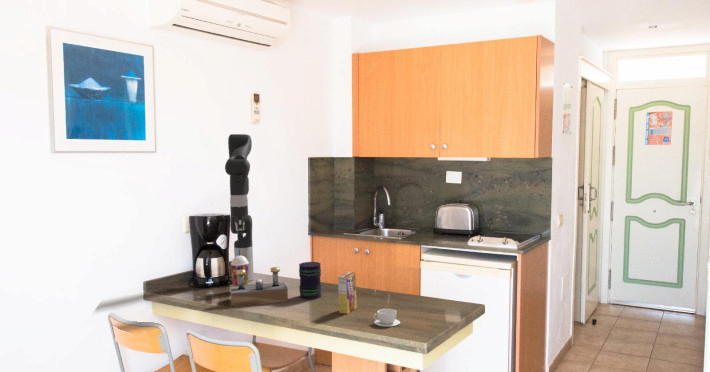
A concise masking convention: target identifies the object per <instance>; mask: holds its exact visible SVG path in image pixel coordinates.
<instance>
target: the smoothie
mask: <svg viewBox="0 0 710 372" xmlns="http://www.w3.org/2000/svg"><path fill="white" fill-rule="evenodd" d="M230 267H231V278H232V279H231V280H232V286H238V285H239V284H238V275H236V271H237V270H245V272H246V274H244V285H249V281H248V276H249V262H248V260H247V259H246V257H244V256H242V255H240V250H239V255H238V256H236V257H233V258H232V260H231V263H230Z"/></svg>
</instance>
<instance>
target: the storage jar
mask: <svg viewBox="0 0 710 372" xmlns="http://www.w3.org/2000/svg"><path fill="white" fill-rule="evenodd" d="M298 266H299V267H298V269H299V270H298V273H299V294H300V295H299V298H300V299H302V300H309V301H310V300H312V301H313V300H317V299H320V298H322V283H321V276H322V269H321V268H322V267H321V262H318V261H306V262H305V261H304V262H299V264H298Z"/></svg>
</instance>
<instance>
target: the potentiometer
mask: <svg viewBox="0 0 710 372" xmlns="http://www.w3.org/2000/svg"><path fill="white" fill-rule="evenodd" d="M262 280H263V279H256V281H255V284H256V290H262V289H263V281H262Z"/></svg>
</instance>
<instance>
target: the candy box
mask: <svg viewBox="0 0 710 372" xmlns="http://www.w3.org/2000/svg"><path fill="white" fill-rule="evenodd" d="M337 284H338V285H337V286H338V290H337V291H338V310H339V311H338V312H339V314H343V315H348V314H350V313H352V312H353V311H354V310H356V309H357V288H356V271H355V272H353V271H346V272H345V273H342V274H340V275H339V276H338V277H337Z"/></svg>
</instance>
